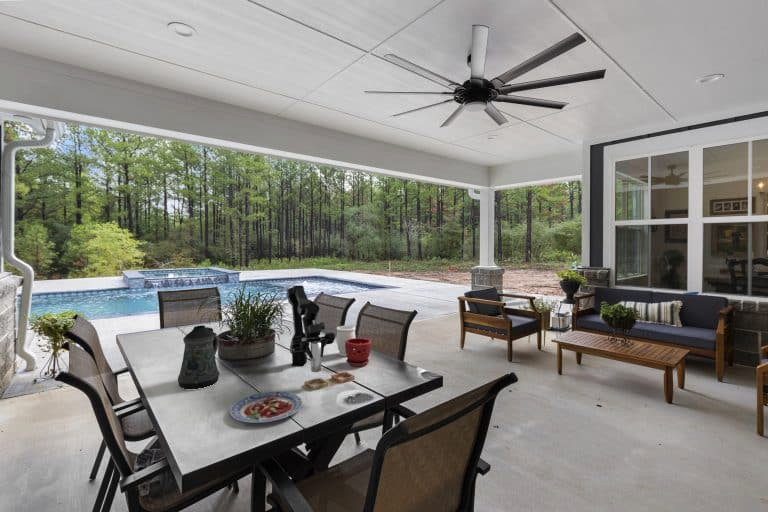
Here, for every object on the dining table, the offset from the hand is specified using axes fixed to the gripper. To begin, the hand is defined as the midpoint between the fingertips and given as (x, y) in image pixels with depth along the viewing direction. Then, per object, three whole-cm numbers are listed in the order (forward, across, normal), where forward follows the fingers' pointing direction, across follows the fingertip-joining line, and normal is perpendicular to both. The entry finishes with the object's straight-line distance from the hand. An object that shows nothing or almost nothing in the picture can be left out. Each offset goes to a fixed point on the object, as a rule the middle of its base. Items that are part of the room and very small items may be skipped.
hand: (316, 357), depth 160 cm
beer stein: (-11, -46, +30) cm, 56 cm away
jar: (-19, +27, +38) cm, 50 cm away
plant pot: (-6, +28, +26) cm, 38 cm away
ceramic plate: (+19, -22, +1) cm, 29 cm away
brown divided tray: (+8, +6, +11) cm, 15 cm away
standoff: (+3, 0, +5) cm, 6 cm away
